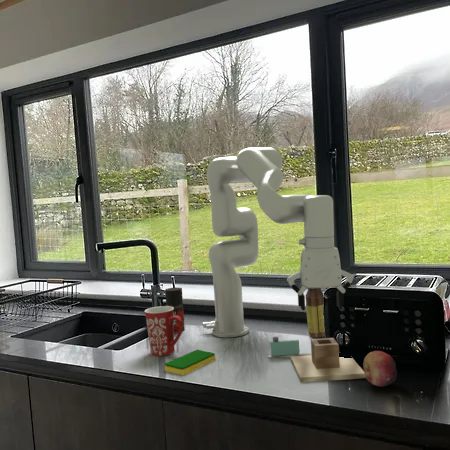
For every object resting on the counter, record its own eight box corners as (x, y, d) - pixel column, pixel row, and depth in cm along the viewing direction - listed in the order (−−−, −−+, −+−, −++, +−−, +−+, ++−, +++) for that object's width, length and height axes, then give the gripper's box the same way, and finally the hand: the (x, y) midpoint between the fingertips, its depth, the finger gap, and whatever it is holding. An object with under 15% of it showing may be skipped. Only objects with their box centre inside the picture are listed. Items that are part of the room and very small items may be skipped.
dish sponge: (164, 372, 134) (163, 363, 134) (197, 357, 145) (197, 349, 145) (183, 376, 130) (182, 367, 130) (216, 361, 141) (215, 352, 140)
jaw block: (316, 369, 125) (315, 346, 124) (311, 361, 131) (310, 339, 130) (339, 367, 125) (338, 344, 124) (334, 359, 131) (333, 337, 130)
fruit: (365, 378, 120) (364, 346, 119) (398, 380, 117) (397, 348, 116) (361, 390, 113) (360, 356, 112) (396, 393, 110) (395, 358, 109)
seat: (276, 383, 120) (275, 367, 119) (267, 356, 141) (266, 341, 140) (365, 378, 120) (364, 361, 120) (343, 351, 141) (342, 336, 141)
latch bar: (271, 356, 139) (270, 338, 138) (271, 354, 140) (270, 336, 140) (299, 354, 139) (298, 336, 139) (298, 352, 140) (297, 334, 140)
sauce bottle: (326, 332, 160) (323, 272, 159) (329, 338, 154) (326, 276, 153) (306, 333, 161) (303, 273, 160) (308, 338, 155) (304, 276, 154)
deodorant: (169, 333, 171) (166, 291, 170) (167, 329, 177) (164, 288, 176) (185, 331, 172) (183, 289, 171) (183, 327, 178) (180, 286, 177)
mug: (141, 355, 149) (138, 311, 148) (160, 346, 156) (157, 305, 156) (173, 360, 142) (170, 314, 141) (192, 351, 150) (189, 307, 149)
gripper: (288, 246, 122) (290, 313, 124) (356, 243, 122) (358, 310, 124) (283, 242, 130) (286, 306, 131) (348, 240, 130) (350, 303, 131)
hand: (321, 308), depth 127 cm, fingers open, 9 cm apart
